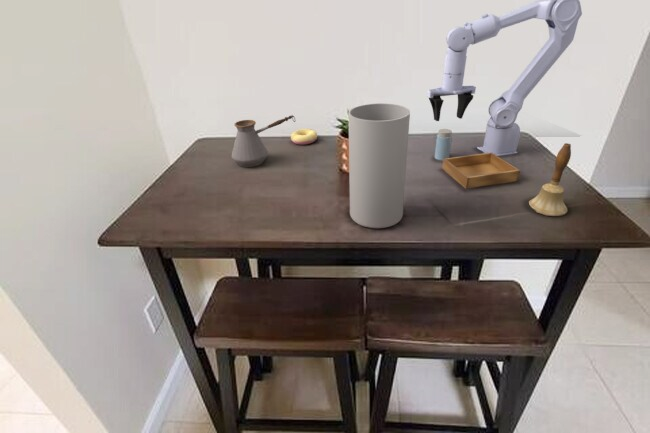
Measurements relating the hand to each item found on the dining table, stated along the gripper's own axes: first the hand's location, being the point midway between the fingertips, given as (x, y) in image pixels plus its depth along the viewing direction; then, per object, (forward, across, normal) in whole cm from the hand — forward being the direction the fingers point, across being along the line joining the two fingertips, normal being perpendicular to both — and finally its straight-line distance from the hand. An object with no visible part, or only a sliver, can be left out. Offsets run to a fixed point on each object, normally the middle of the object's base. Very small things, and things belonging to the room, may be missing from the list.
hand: (447, 118), depth 118 cm
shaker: (+10, -4, -6) cm, 13 cm away
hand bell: (+10, +6, -40) cm, 42 cm away
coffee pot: (+11, -57, +9) cm, 59 cm away
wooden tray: (+10, 0, -20) cm, 23 cm away
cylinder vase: (+11, -34, -32) cm, 48 cm away
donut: (+11, -42, +24) cm, 49 cm away
